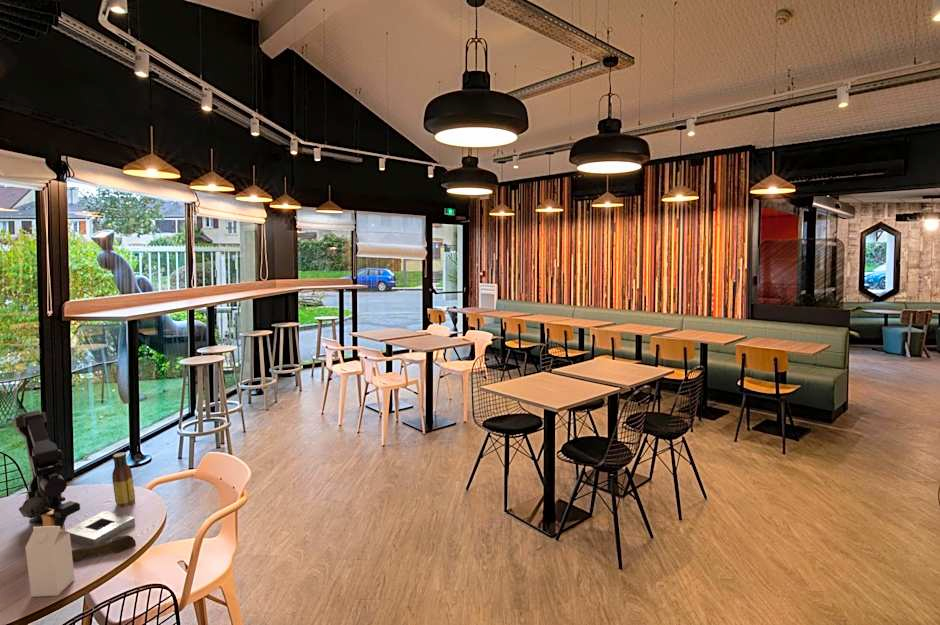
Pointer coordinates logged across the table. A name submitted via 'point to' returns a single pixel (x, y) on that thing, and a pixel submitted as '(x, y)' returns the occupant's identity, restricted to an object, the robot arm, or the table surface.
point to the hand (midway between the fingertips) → (54, 529)
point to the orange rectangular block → (49, 520)
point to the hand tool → (104, 548)
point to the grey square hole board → (113, 527)
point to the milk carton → (49, 561)
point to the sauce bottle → (122, 481)
